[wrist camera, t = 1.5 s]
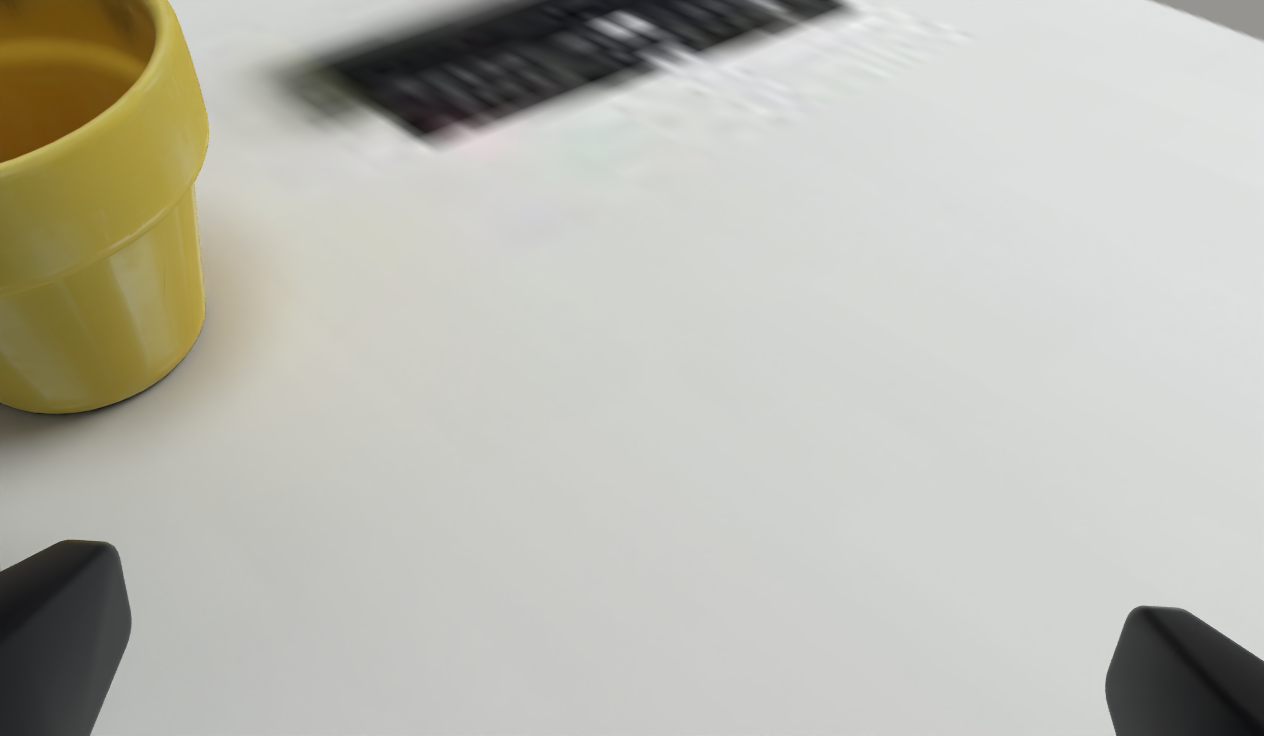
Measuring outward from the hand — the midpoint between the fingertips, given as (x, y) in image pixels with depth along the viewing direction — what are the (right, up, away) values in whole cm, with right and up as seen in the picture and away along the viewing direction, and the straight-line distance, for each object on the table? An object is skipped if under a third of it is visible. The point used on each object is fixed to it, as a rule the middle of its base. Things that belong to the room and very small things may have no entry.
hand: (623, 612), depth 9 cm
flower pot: (-16, +3, +22) cm, 28 cm away
